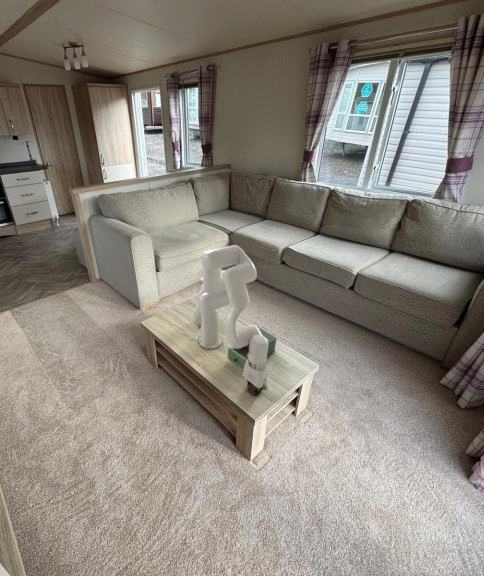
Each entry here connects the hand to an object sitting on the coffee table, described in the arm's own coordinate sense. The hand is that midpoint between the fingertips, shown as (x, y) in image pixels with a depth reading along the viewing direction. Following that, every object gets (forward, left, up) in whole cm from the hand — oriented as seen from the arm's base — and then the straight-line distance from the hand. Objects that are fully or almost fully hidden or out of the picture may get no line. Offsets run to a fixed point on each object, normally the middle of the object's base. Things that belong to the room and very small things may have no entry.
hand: (253, 390), depth 136 cm
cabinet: (-16, +21, 0) cm, 26 cm away
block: (0, 0, 0) cm, 0 cm away
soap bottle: (-53, +18, -1) cm, 56 cm away
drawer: (-16, +11, +1) cm, 19 cm away
